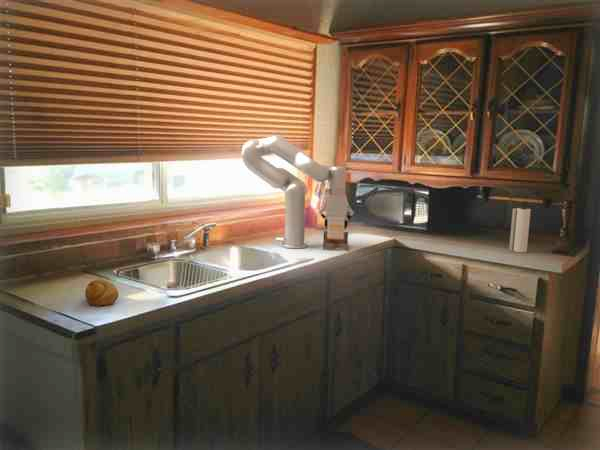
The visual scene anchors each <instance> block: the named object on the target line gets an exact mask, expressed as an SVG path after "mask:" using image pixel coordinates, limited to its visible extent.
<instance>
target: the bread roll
mask: <svg viewBox="0 0 600 450" xmlns="http://www.w3.org/2000/svg"><path fill="white" fill-rule="evenodd" d="M84 292H85V293H84V295H85V300H86V302H87V303H89V305H92V306H94V305H96V306H95V307H102V306H101V305H105V306H109V305H112V304H114V303H115V302H116V301H117V300H118V298H119V291H118V288H117V287H116V286H115V285H114V284H113V283H112V282H109V281H107V279H101V278H100V279H95V280H93V281H90V282H89V283H88V285H87V286H86V288H85V291H84ZM108 304H109V305H108Z"/></svg>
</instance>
